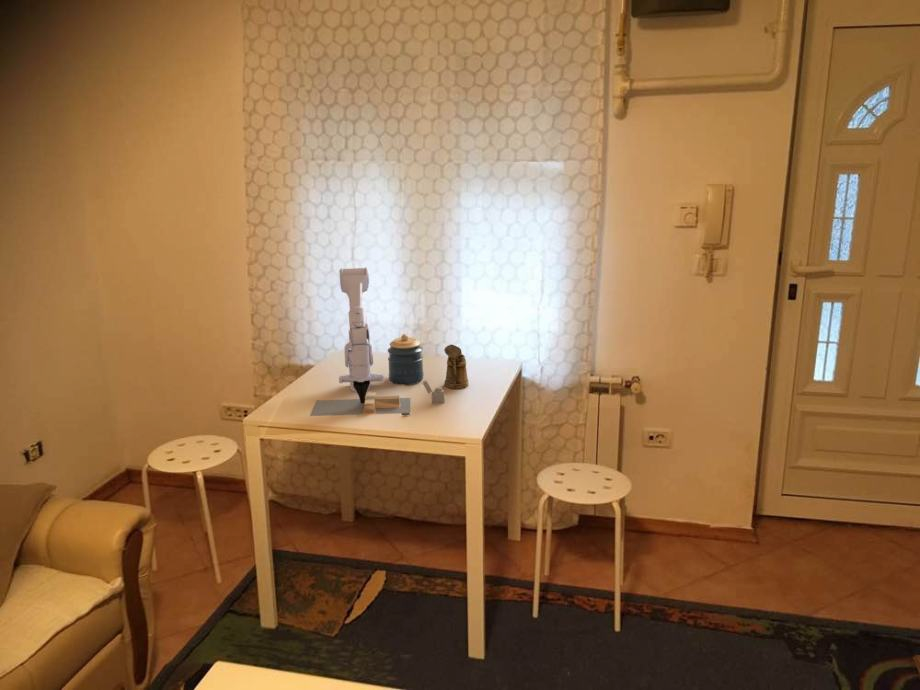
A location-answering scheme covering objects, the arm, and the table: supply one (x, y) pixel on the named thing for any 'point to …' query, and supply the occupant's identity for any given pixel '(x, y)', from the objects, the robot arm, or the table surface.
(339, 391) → the table surface
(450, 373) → the bronze figurine
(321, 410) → the slate board
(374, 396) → the t block
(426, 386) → the lighter
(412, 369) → the canister
